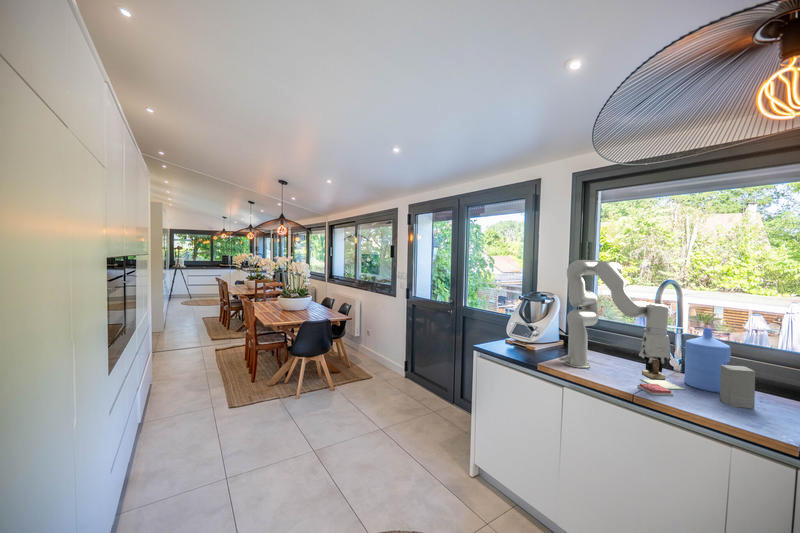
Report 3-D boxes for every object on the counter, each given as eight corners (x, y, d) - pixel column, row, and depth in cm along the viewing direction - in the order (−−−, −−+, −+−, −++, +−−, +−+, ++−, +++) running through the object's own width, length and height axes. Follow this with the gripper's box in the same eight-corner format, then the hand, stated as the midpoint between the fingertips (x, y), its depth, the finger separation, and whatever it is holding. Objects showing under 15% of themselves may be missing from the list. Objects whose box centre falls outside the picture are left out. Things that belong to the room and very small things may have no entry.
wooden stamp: (651, 379, 141) (652, 361, 141) (641, 374, 147) (642, 357, 147) (665, 380, 141) (666, 362, 141) (654, 375, 147) (656, 357, 147)
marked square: (658, 389, 146) (658, 388, 146) (639, 379, 158) (639, 378, 158) (685, 389, 146) (685, 389, 146) (664, 380, 158) (664, 379, 158)
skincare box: (743, 403, 133) (744, 365, 133) (756, 410, 126) (757, 371, 126) (718, 400, 136) (719, 363, 136) (729, 406, 129) (730, 368, 129)
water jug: (694, 390, 146) (696, 330, 146) (677, 379, 161) (679, 324, 161) (738, 395, 141) (740, 333, 140) (717, 383, 155) (718, 327, 155)
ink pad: (652, 395, 139) (652, 390, 139) (637, 387, 148) (637, 383, 148) (673, 395, 139) (673, 391, 139) (657, 387, 148) (657, 383, 148)
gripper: (643, 332, 140) (641, 373, 141) (681, 334, 140) (679, 375, 140) (631, 328, 148) (629, 367, 148) (668, 330, 147) (665, 369, 148)
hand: (653, 370), depth 144 cm, fingers closed on wooden stamp, 3 cm apart
